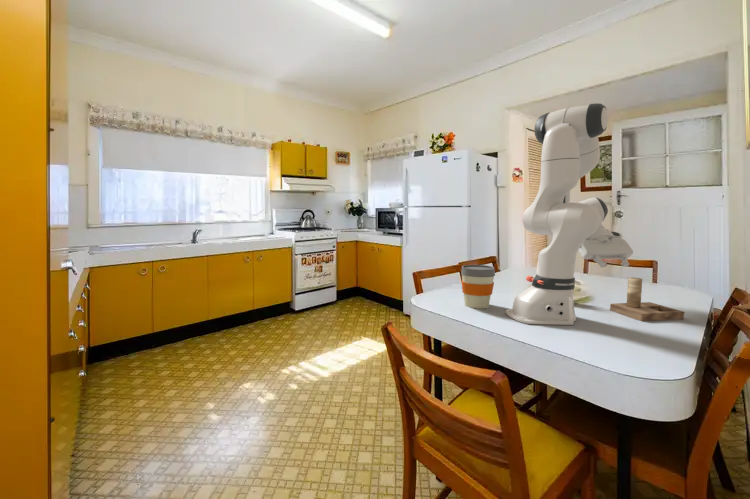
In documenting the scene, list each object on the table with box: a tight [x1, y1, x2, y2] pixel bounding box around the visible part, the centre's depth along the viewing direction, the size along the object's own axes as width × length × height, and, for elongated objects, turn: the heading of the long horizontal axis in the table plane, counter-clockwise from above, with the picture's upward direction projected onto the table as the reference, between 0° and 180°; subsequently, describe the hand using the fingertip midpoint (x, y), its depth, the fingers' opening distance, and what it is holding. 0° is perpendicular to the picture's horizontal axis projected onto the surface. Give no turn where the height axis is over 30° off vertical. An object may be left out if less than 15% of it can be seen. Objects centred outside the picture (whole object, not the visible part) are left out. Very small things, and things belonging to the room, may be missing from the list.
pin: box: [626, 277, 643, 308], centre depth 120 cm, size 4×4×10 cm
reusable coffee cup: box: [460, 264, 496, 309], centre depth 130 cm, size 13×13×15 cm
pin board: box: [609, 301, 685, 322], centre depth 119 cm, size 16×12×2 cm
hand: (615, 266), depth 128 cm, fingers open, 8 cm apart
